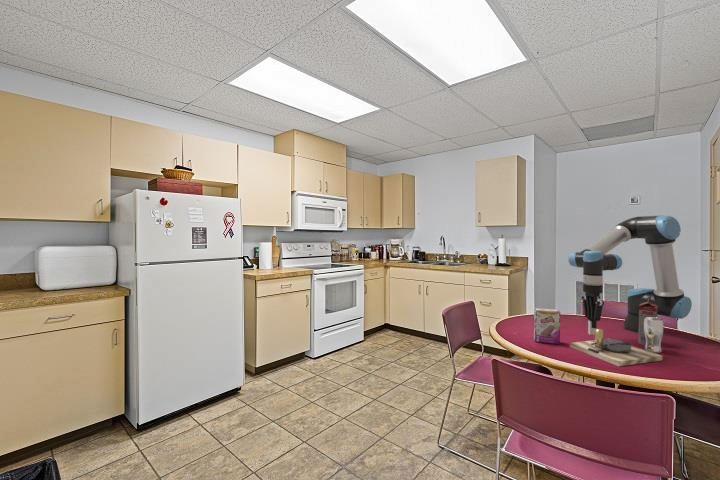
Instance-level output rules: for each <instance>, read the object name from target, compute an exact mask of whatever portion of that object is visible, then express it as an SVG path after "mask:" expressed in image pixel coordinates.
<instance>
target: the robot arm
mask: <svg viewBox="0 0 720 480" xmlns="http://www.w3.org/2000/svg"><path fill="white" fill-rule="evenodd" d="M680 235H681V224H680V222H679V221H678V219H677V218H675V217H673V216H672V215H648V216H647V215H646V216H634V217H631V218H628V219H625V220H623V221H622V222H619V223H618V224H616V225H614V226H613V227H611V231H609V232H608V233H606V234H605V235H603V236H602V237H601V238H599V239H598V240H596V241H594V242H593V243H592V244H589V246H587V247H586V248H584V249H583V250H581V251H580V252H577V251H575V252H572V253H570V254H569V255H568V258H567V259H568V264H569V266H571V267H575V268H580V269H581V268H582V270H583V271H582V282H583V284H582V291H583V292H584V293H585V294H584V296H581V300H582V305H583V314H584V318H586V319H587V326H588V327H587V334H588V335H591V336H592V335H594V336H595V329H597V323H598V322H600V321H601V317H602V312H603V306H604V305H605V302H604V301H603V300H601V296H600V295H601V294H602V293H603V283H604V279H603V277H604V275H603V274H604V273H603V271H615V270H616V271H617V270H618V269H619V270H620V268H621V267H622V266H623V259H622V257H620V256H619V255H618V254H615V253H613V254H612V253H609V252H611V251H612V250H614V249H615V248H616V247H618V246H619V245H621V244H622V243H625V242H626V243H627V242H628V241H630V240H632V239H633V240H634V239H642V240H643V239H644V242H645V245H647V246H649V250H650V256H651V260H652V266H653V267H652V268H653V272H654V281H655V287H656V288H655V289H654V288H631V289H628V291H627V314H626V317H625V319H624V322H623V329H625V330H628V331H631V332H636V333H639V305H640V304H641V303H644V302H648V298H649V302H651V303H653V304H655V305H657V316H663V317H668V318H672V319H681V320H682V319H684V318H686V317H687V316H688V315H689V314H690V313H691V310H692V306H693V305H692V304H693V303H692V299H691V298H690V297H688V296H685V292H684V291H683V289H680V285H679V279H678V273H677V267H676V266H677V265H676V259H675V254H674V248H673V247H674V246H673V244H674V243H675V242H676V241H677V240H676V239H678V238H679V236H680ZM608 253H609V254H608Z"/></svg>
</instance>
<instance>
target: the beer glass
mask: <svg viewBox="0 0 720 480" xmlns="http://www.w3.org/2000/svg"><path fill="white" fill-rule="evenodd" d="M644 334H645V339H646V344H645V345H644V350H646V351H649V352H652V353H655V354H660V353H662V352H663V351H662V344H661V343H662V339H663V336H664V319H663V318H659V317H657V318H656V317H644Z"/></svg>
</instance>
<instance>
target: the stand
mask: <svg viewBox="0 0 720 480" xmlns="http://www.w3.org/2000/svg"><path fill="white" fill-rule="evenodd" d="M591 343H595V339H594V340H593V339H592V340H585V341H584V340H583V341H576V342H573V341H572V342H570V343H569V347H570V348H571V349H574V350H576V351H578V352H581V353H584V354H587V355H588V356H589V355H590V356H592V357H594V358H597V359H600V360H601V361H605V362H607V363H610V364H612V365H614V366H617V367H624V366H625V367H626V366H631V365H639V364H645V363H652V362H660V361H663V355H661V354H659V353H655V352H650V351H647V350H645V349H643V348H639V347H637V346H634V345H631V352H629V353H617V352H611V351H607V350H604V349H602V348H597V347H595V345H592V344H591Z"/></svg>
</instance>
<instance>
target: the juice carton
mask: <svg viewBox="0 0 720 480" xmlns="http://www.w3.org/2000/svg"><path fill="white" fill-rule="evenodd" d="M644 317H656V318H658V315H657V305H655V304H653V303H651V302H649V298H648V302H644V303H641V304H640V305H639V332H638V344H640V345H644V346H645V344H646V339H645V334H644Z"/></svg>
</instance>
